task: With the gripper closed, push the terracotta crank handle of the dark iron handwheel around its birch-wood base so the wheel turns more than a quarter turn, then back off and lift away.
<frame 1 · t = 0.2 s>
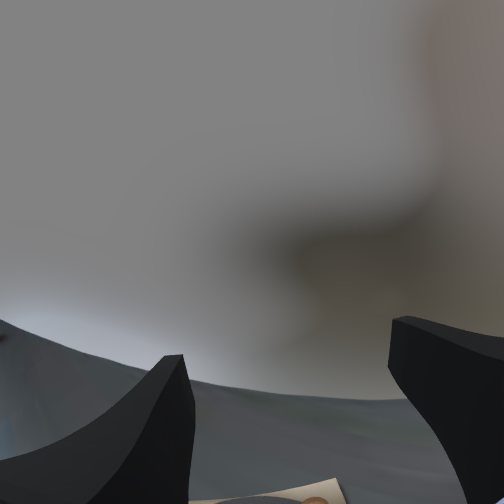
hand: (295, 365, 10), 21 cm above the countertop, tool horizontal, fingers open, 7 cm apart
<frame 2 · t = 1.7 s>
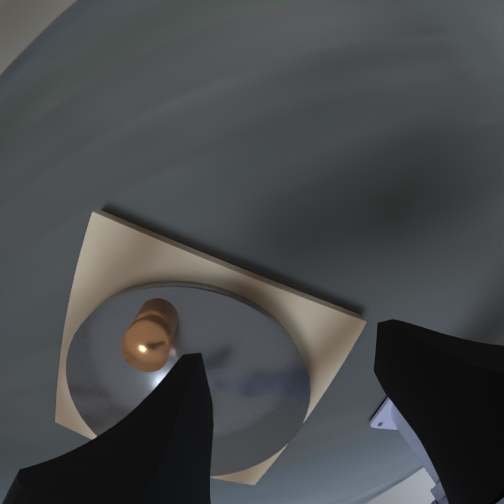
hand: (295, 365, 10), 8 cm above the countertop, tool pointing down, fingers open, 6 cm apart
wheel base: (186, 381, 19), on the countertop
handwheel: (181, 419, 15), point 4 cm above the countertop, hinge at 0.0°
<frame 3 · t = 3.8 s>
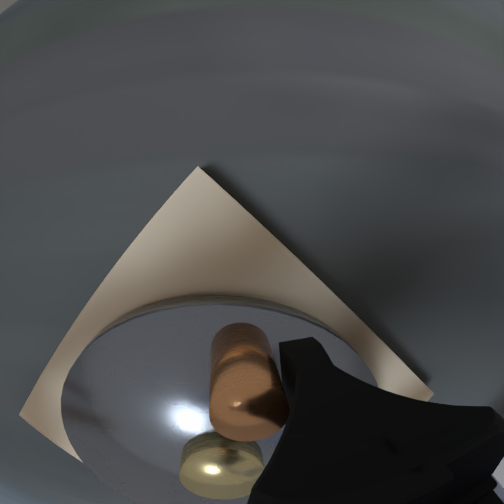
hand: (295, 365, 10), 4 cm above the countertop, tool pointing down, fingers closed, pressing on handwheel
wheel base: (220, 419, 14), on the countertop
handwheel: (222, 475, 10), point 4 cm above the countertop, hinge at 4.2°, touching gripper
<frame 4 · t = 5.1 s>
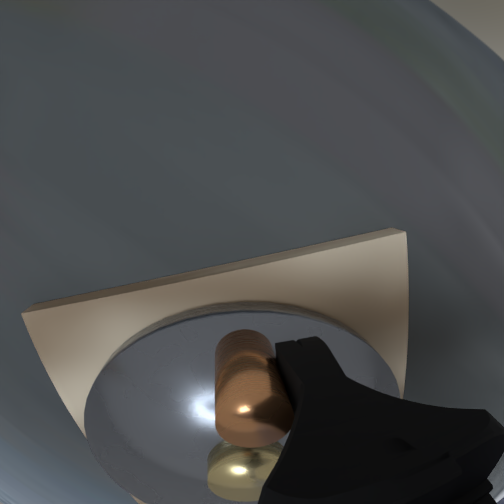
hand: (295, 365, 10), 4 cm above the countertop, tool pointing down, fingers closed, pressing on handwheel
wheel base: (242, 422, 14), on the countertop
handwheel: (249, 478, 10), point 4 cm above the countertop, hinge at 49.6°, touching gripper
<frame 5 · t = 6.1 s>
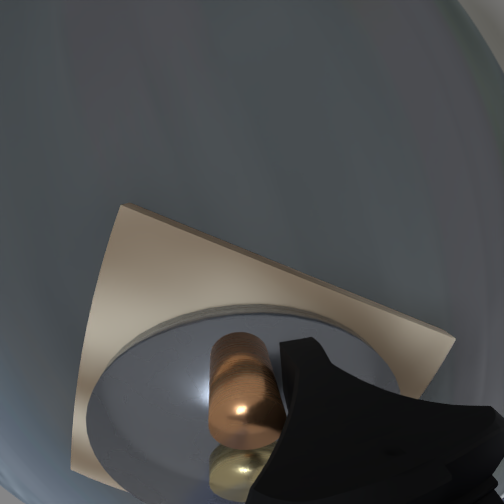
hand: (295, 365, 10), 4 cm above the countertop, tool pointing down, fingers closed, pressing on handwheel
wheel base: (244, 423, 14), on the countertop
handwheel: (251, 479, 10), point 4 cm above the countertop, hinge at 86.5°, touching gripper
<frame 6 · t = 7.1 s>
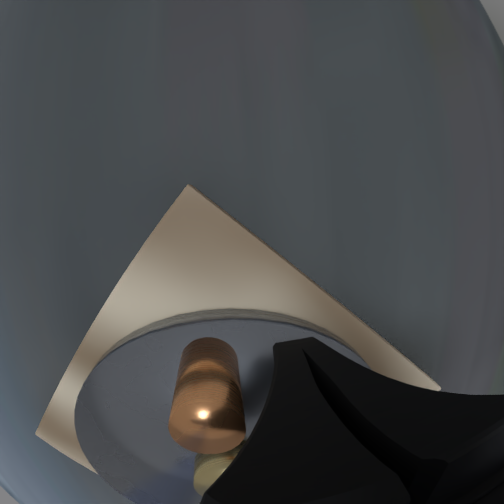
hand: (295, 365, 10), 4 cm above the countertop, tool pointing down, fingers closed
wheel base: (231, 426, 14), on the countertop
handwheel: (235, 481, 10), point 4 cm above the countertop, hinge at 105.4°
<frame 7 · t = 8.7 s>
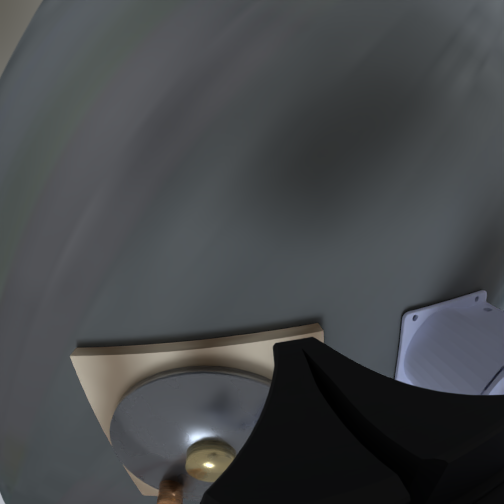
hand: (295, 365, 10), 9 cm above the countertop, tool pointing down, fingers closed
wheel base: (211, 431, 21), on the countertop
handwheel: (211, 466, 17), point 4 cm above the countertop, hinge at 105.4°
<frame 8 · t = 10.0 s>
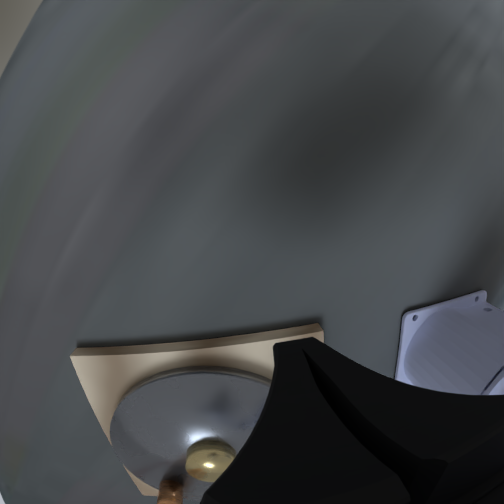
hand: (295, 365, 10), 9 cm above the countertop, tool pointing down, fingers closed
wheel base: (211, 431, 21), on the countertop
handwheel: (211, 466, 17), point 4 cm above the countertop, hinge at 105.4°
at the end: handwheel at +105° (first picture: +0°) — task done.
